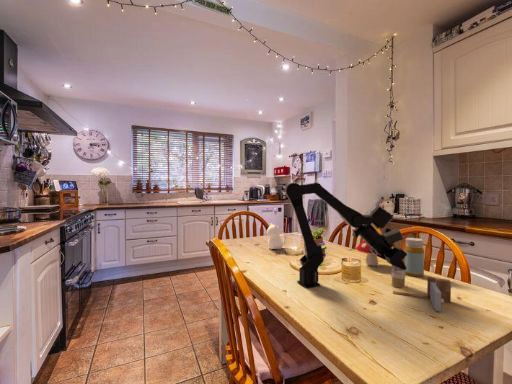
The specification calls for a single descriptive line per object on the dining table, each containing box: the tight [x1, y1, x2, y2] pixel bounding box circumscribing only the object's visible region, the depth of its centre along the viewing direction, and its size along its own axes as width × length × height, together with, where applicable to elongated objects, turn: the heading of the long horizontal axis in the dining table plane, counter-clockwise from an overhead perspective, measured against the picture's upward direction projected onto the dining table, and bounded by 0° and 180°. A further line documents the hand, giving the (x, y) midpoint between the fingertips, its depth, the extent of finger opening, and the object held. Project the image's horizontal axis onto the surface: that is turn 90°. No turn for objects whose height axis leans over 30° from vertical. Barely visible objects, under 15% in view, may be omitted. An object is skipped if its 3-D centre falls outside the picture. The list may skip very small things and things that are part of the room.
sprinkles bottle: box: [390, 250, 406, 289], centre depth 95 cm, size 5×5×14 cm
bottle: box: [404, 237, 425, 278], centre depth 107 cm, size 7×7×15 cm
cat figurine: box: [266, 222, 287, 250], centre depth 151 cm, size 9×12×15 cm
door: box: [429, 282, 445, 313], centre depth 78 cm, size 9×2×6 cm, turn 155°
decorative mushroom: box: [355, 239, 379, 267], centre depth 119 cm, size 14×14×15 cm
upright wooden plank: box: [392, 276, 452, 303], centre depth 85 cm, size 16×2×7 cm, turn 65°
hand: (402, 267), depth 95 cm, fingers closed on sprinkles bottle, 4 cm apart
